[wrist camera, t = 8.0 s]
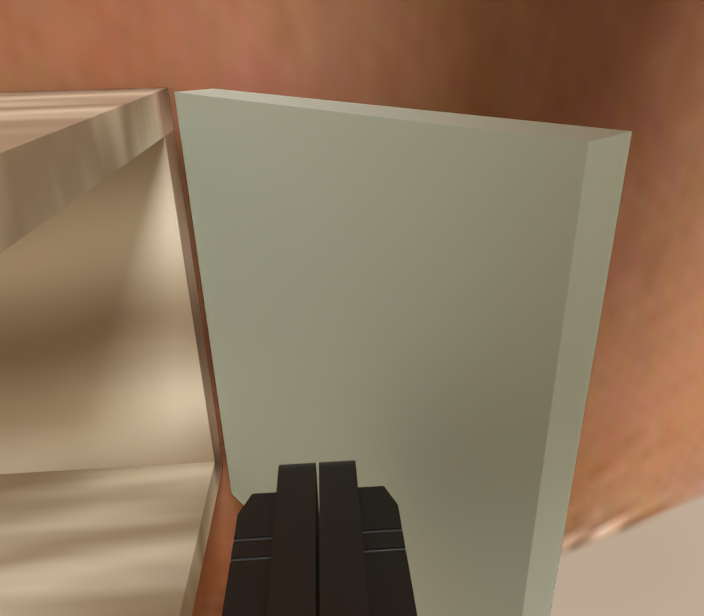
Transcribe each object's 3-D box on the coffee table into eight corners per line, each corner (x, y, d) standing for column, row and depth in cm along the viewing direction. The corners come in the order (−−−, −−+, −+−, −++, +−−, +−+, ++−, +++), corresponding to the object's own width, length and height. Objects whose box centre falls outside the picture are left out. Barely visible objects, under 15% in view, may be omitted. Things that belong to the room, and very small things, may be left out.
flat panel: (174, 92, 16) (587, 142, 8) (213, 88, 17) (632, 130, 8) (231, 493, 22) (501, 763, 14) (258, 478, 23) (531, 727, 14)
